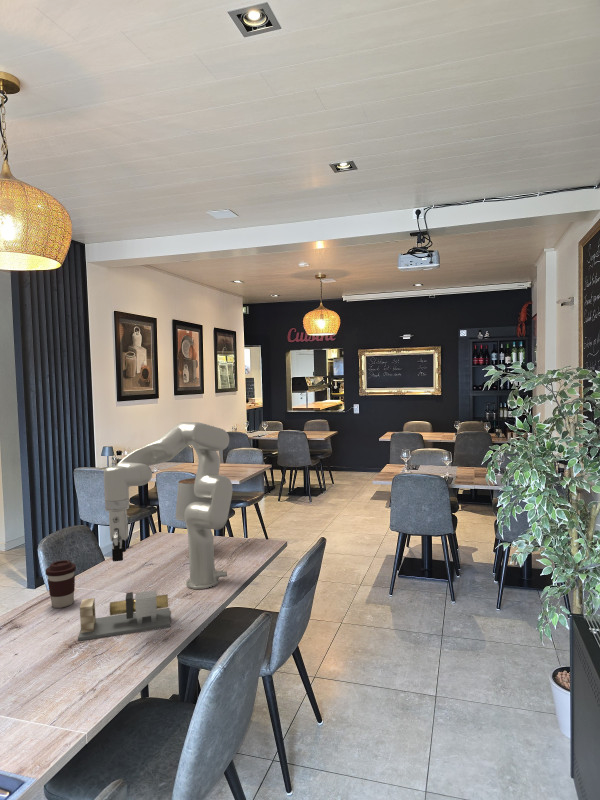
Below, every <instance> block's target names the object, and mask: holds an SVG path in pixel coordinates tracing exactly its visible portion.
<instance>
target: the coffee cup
mask: <svg viewBox="0 0 600 800" xmlns="http://www.w3.org/2000/svg"><path fill="white" fill-rule="evenodd" d="M76 570H77V565H76V563H74V562H72V561H71V560H69V559H65V560H63V559H62V560H58V561H53V562H51V563H50V565H49V566H48V567H47V568H46V569H45V575H46V576H47V584H48V586H47V587H48V592H49V596H50V602H51V607H52V608H56V609H60V608H61V609H62V608H66V607H68V606H71V605H72V604H74V603H75V601H74V600H75V587H76V586H75V585H76V584H75V582H76V580H75V579H76V574H75V571H76Z"/></svg>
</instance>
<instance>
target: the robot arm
mask: <svg viewBox="0 0 600 800" xmlns="http://www.w3.org/2000/svg"><path fill="white" fill-rule="evenodd" d="M229 444H230V435H229V433H228V432H227V431H226V430H225V429H223V428H220V427H217V426H214V425H209V424H206V423H204V422H189V421H188V422H187V421H185V422H180V423H177V424H176V425H174V426H173V427H172V428H171V429H169V430H168V431H167V432H165V434H163V435H162V436H161V437H159V438H158V439H157V440H155V441H153V442H152V443H149V444H147V445H144V446H143V447H141V448H138V449H135V450H134V451H133V452H130V453H129V454H127V455H126V456H124V458H122V459H121V460H119V462H118V463H116V465H114V466H109V467H106V468H105V469H104V470H103V489H104V511H106V512H108V516H109V517H108V521H109V524H108V526H109V539H110V541H111V542H112V545H111V547H112V548H111V557H112V558H111V559H112V562H121V561H123V560H124V553H125V552H127V540H128V536H129V522H128V511H127V510H128V509H130V492H129V491H130V490H129V487H141V486H145V485H147V484H148V483H149V482H150V481H151V479H152V478H153V471H152V468H151V466H154V465H159V464H163V463H166V462H169V461H171V460H173V459H174V458H175V457H176V456H177V455H178V454H179V453H180V452H182V451H183V450H184V449H185V448H186V447H189V446H191V447H192V448H193V449H194V451H195V452H196V455H197V458H198V460H197V461H198V463H197V470H196V475H195V478H196V479H195V484H194V494H195V495H196V496H197V497H199V498H203V499H211V500H212V502H211V503H206V502H193V503H191V504H189V505H188V506H187V507H186V509H185V513H184V518H185V521H184V522H185V526H186V530H187V538H188V539H187V540H188V558H189V559H188V562H189V578H188V579H187V580H186V587H188V588H189V589H193V590H204V589H210V588H212V586H213V587H215V586H217V585H218V584H219V583H220V578H225V577H228V572H227V571H228V570H226V571H224V570H222V569H221V570H216V568H215V552H214V551H215V548H214V547H215V546H214V535H213V531H216V530H217V531H218V530H221V529H223V528H224V527H225V526H226V524H227V522H228V519H229V513H230V507H231V503H232V497H233V491H234V490H233V483H232V481H231V479H230V477H227V476H226V475H222V474H220V469H221V460H220V456H219V454H218V452H222V451H224V450H225V449H227V448H228V446H229ZM212 530H213V531H212ZM209 587H210V588H209Z"/></svg>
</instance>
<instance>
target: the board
mask: <svg viewBox="0 0 600 800" xmlns="http://www.w3.org/2000/svg"><path fill="white" fill-rule="evenodd" d="M170 609H171V608H170V607H166V608H159V609H157V621H155V622H151V616H146V617H143V622H142V623H141V624H137V618H136V612H134V615H133V618H130V619H127V617H126V613H124V614H117V615H110V616H102V617H101V616H100V617H96V623H95V627H94V631H91V632H84V633H81V629H80V631H79V633H78V635H77V641H78V642H80V641H85V640H86V641H88V640H93V639H101V638H107V637H108V638H109V637H113V636H119V635H125V634H126V635H127V634H133V633H140V632H146V631H147V632H148V631H152V630H153V629H154V630H160V629H165V628H164V627H167V628H171V612H170V611H171V610H170ZM159 628H160V629H159Z"/></svg>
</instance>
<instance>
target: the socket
mask: <svg viewBox="0 0 600 800" xmlns="http://www.w3.org/2000/svg"><path fill="white" fill-rule="evenodd" d="M79 617H80V618H79V619H80V630H81V633H84V632H91V631H94V627H95V623H96V618H97V616H96V602H95V598H94V597H93V598H85V599H82V600H81V602H80V606H79Z"/></svg>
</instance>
